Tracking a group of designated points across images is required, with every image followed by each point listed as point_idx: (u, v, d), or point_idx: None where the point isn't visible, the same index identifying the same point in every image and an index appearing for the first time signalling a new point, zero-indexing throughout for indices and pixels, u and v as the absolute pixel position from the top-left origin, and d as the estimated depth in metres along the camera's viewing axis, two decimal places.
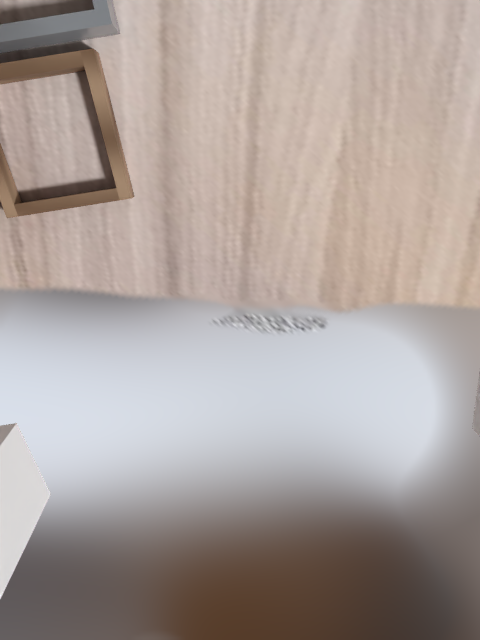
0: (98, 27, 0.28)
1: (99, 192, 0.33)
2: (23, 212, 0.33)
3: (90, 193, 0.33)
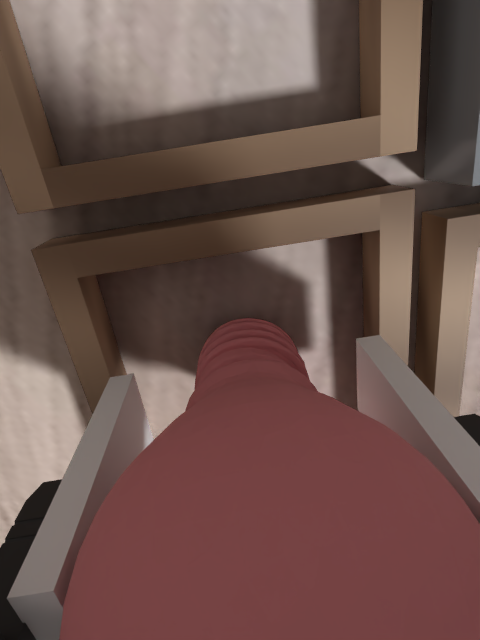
0: None
1: None
2: None
3: None
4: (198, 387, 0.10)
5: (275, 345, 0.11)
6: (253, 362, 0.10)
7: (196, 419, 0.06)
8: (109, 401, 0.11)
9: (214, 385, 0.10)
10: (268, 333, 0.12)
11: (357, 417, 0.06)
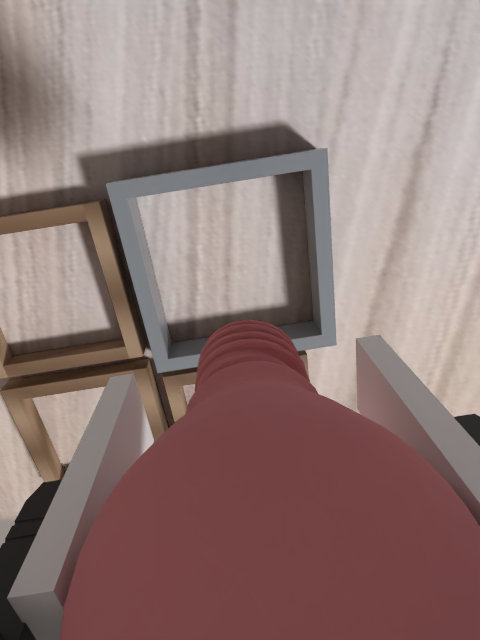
0: None
1: None
2: None
3: None
4: (198, 389, 0.10)
5: (275, 347, 0.11)
6: (253, 364, 0.10)
7: (196, 422, 0.06)
8: (109, 401, 0.11)
9: (214, 387, 0.10)
10: (268, 335, 0.12)
11: (358, 420, 0.06)
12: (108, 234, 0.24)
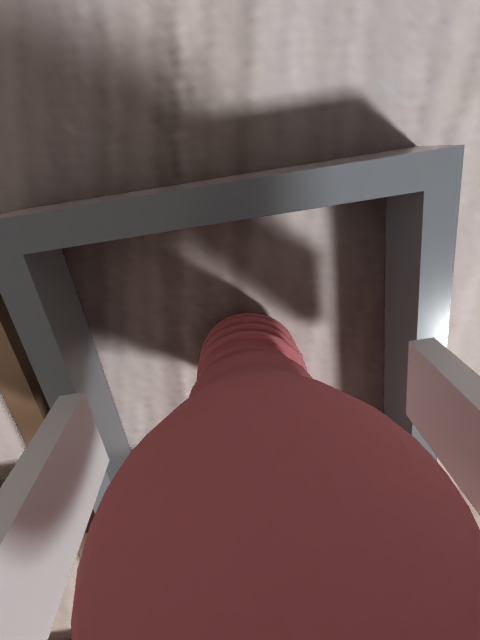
0: None
1: None
2: None
3: None
4: (200, 378, 0.11)
5: (274, 338, 0.12)
6: (253, 353, 0.11)
7: (199, 402, 0.07)
8: (51, 424, 0.10)
9: (215, 375, 0.10)
10: (267, 327, 0.12)
11: (350, 399, 0.07)
12: (0, 318, 0.12)
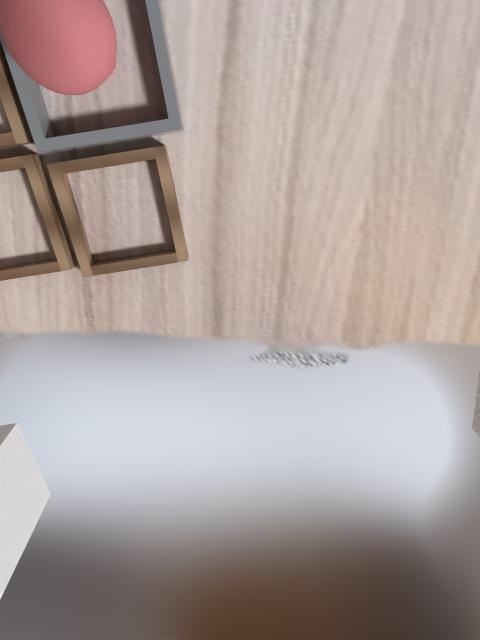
0: (170, 131, 0.34)
1: (161, 256, 0.39)
2: (97, 272, 0.40)
3: (154, 257, 0.39)
4: None
5: None
6: None
7: None
8: None
9: None
10: None
11: None
12: None
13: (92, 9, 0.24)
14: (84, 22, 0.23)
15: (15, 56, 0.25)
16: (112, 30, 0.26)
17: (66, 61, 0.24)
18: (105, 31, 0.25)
